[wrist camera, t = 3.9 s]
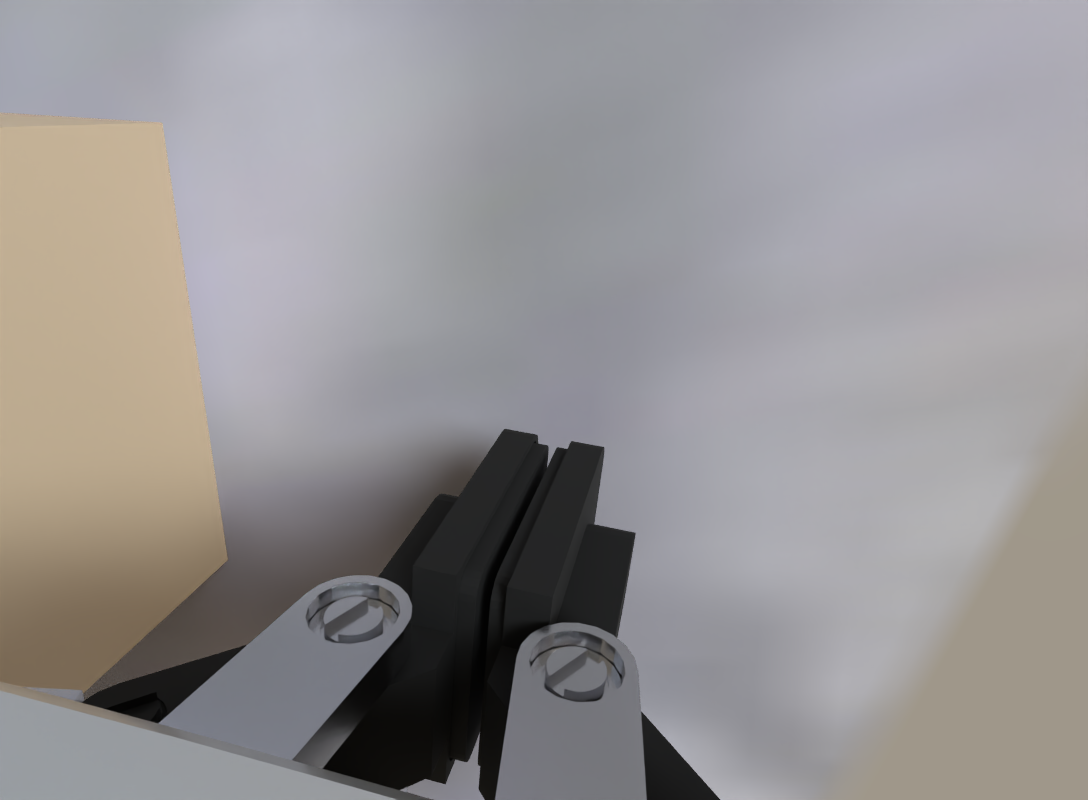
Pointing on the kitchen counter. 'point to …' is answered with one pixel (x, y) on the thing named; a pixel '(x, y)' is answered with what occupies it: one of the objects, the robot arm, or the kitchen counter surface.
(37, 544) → the carton
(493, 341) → the kitchen counter surface
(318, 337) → the kitchen counter surface
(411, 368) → the kitchen counter surface
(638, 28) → the kitchen counter surface
